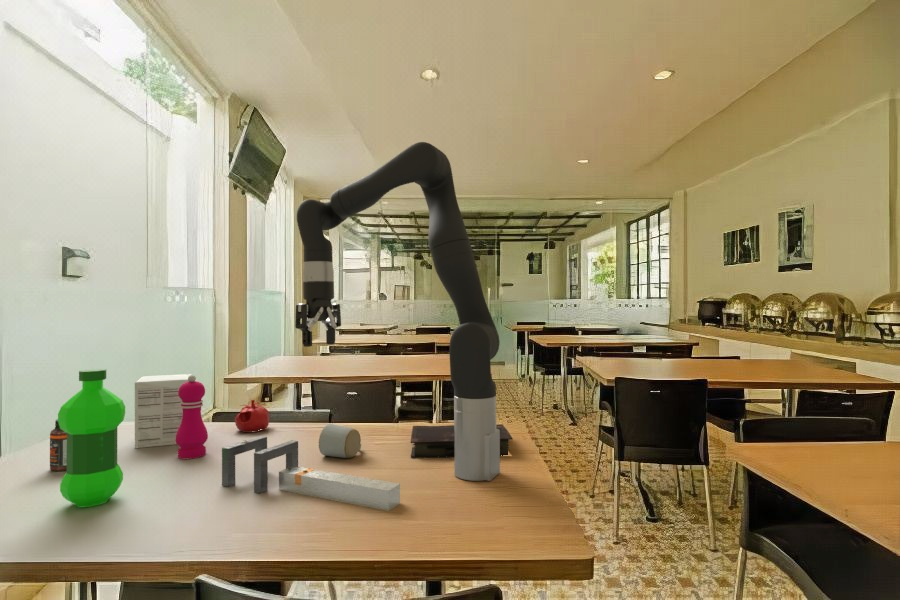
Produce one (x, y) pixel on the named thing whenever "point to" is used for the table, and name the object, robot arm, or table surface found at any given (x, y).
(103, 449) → the plastic bottle
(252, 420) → the pomegranate
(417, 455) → the diary
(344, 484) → the orange banded bar
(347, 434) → the ceramic mug
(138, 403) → the supplement box
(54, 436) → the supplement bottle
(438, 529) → the table surface
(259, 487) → the collar
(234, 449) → the collar
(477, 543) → the table surface
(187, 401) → the pepper mill
